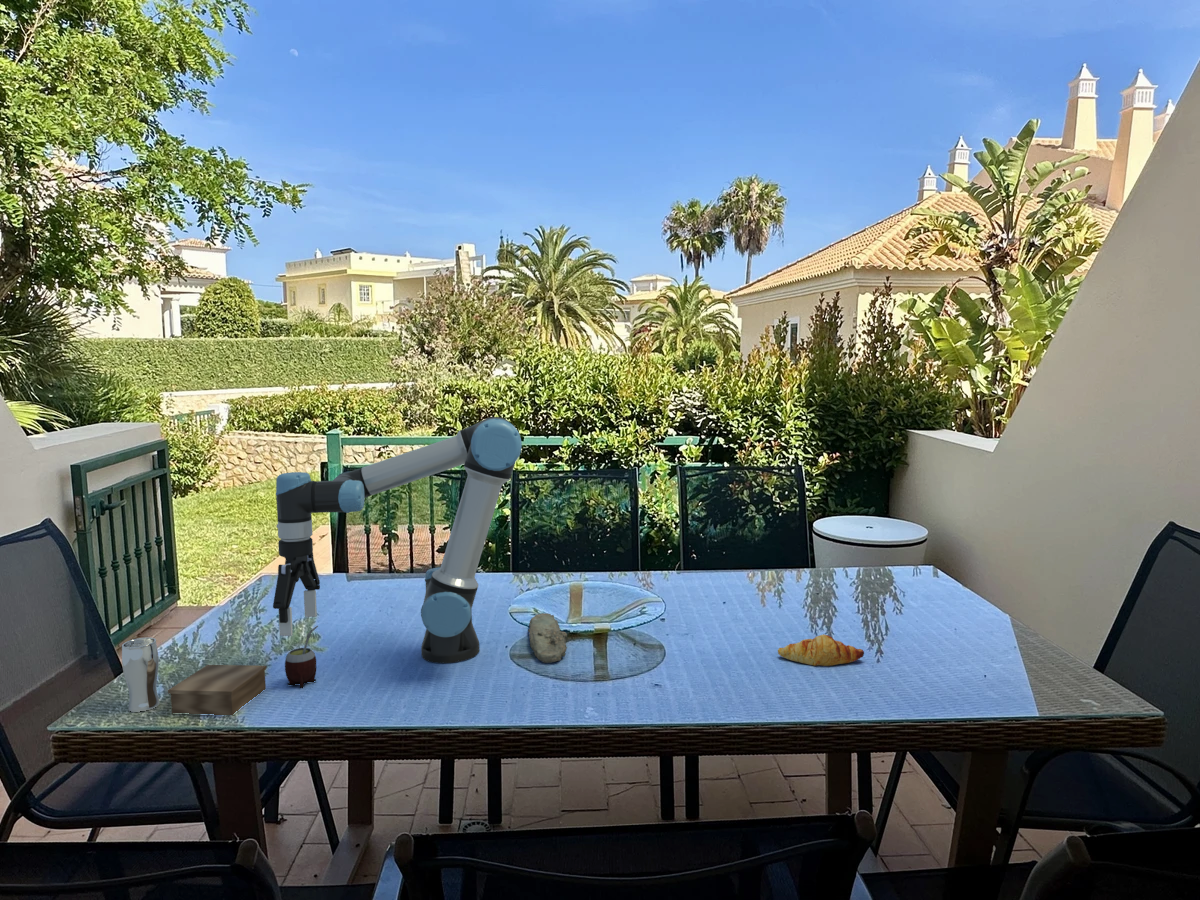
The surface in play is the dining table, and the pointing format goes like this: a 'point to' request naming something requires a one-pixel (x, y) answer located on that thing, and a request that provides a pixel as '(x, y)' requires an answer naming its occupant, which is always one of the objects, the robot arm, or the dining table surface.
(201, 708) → the walnut box
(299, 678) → the mate gourd
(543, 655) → the elongated rock
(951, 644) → the dining table surface
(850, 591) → the dining table surface
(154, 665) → the beer glass
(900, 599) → the dining table surface
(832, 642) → the croissant
